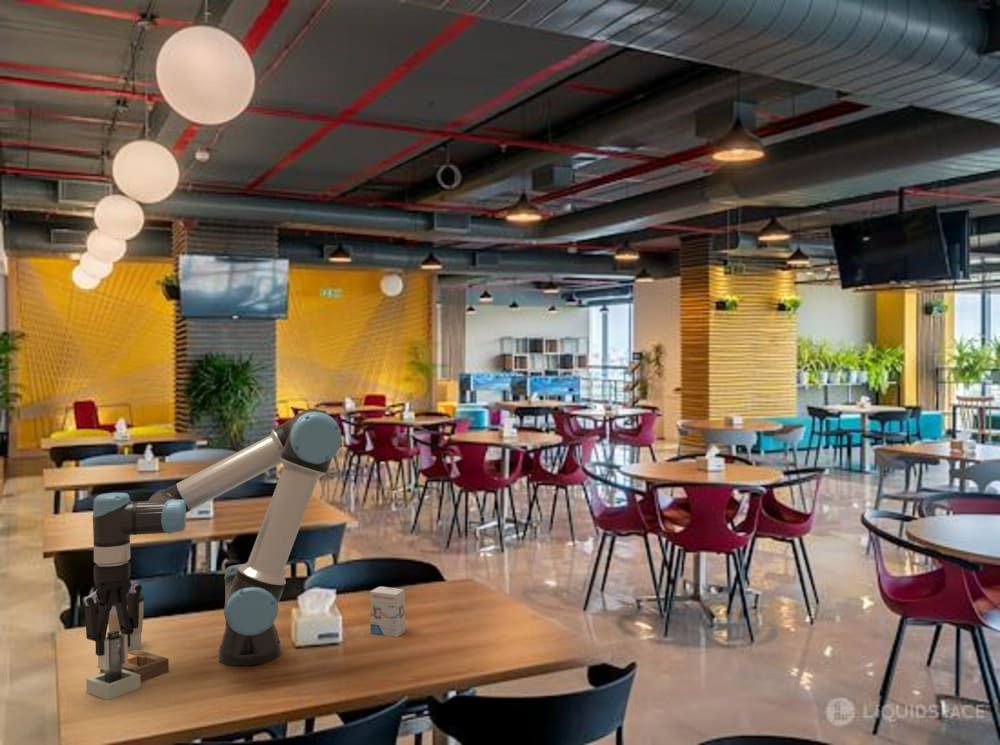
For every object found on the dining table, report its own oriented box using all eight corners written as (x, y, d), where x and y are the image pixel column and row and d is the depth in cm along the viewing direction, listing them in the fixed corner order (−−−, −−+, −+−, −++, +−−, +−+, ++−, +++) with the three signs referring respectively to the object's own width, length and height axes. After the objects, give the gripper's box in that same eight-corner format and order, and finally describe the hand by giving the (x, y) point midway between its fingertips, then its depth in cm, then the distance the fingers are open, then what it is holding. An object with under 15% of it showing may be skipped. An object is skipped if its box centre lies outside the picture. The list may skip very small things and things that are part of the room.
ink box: (369, 633, 228) (368, 590, 228) (378, 628, 233) (378, 585, 233) (396, 637, 225) (396, 593, 225) (405, 631, 230) (405, 588, 229)
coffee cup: (130, 656, 212) (129, 597, 211) (98, 654, 213) (98, 595, 213) (152, 644, 221) (151, 587, 220) (121, 642, 222) (121, 585, 222)
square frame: (140, 687, 191) (140, 674, 191) (107, 699, 184) (107, 686, 184) (119, 680, 195) (119, 668, 195) (86, 692, 188) (86, 679, 188)
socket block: (168, 671, 201) (168, 658, 201) (134, 683, 194) (134, 670, 194) (134, 660, 208) (134, 648, 208) (100, 672, 201) (100, 659, 201)
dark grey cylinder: (125, 685, 190) (125, 631, 190) (110, 690, 187) (110, 636, 187) (115, 681, 192) (115, 628, 192) (101, 686, 189) (100, 633, 189)
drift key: (140, 667, 203) (140, 649, 203) (124, 673, 200) (124, 654, 200) (114, 659, 209) (114, 641, 209) (98, 664, 205) (98, 646, 205)
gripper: (135, 553, 199) (136, 651, 199) (66, 568, 184) (67, 674, 185) (155, 556, 195) (156, 657, 195) (86, 572, 180) (87, 681, 181)
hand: (113, 665), depth 190 cm, fingers open, 4 cm apart
